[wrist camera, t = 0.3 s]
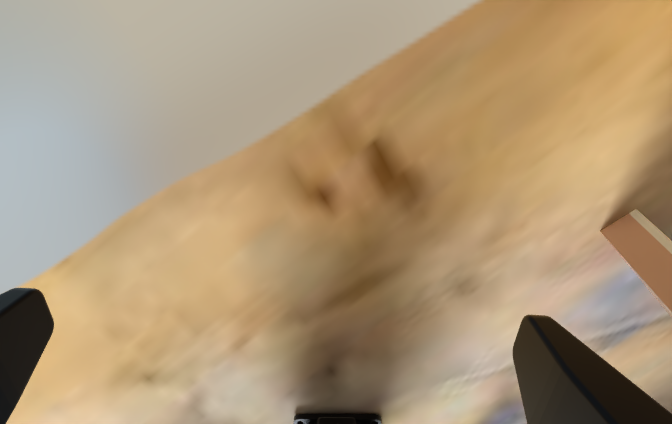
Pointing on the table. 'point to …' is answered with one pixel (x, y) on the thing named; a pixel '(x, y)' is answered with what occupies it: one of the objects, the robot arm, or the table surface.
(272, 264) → the table surface
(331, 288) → the table surface
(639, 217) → the tile
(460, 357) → the table surface
